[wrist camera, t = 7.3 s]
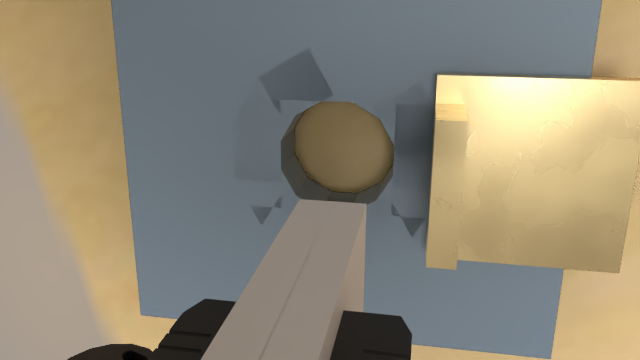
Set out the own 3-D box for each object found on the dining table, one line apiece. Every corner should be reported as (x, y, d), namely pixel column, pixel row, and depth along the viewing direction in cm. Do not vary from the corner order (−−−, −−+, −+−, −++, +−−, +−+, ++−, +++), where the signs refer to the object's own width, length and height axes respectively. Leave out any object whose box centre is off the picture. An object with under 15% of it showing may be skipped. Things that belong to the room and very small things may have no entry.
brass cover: (437, 72, 22) (437, 87, 18) (644, 78, 20) (688, 96, 17) (425, 249, 24) (424, 294, 20) (612, 263, 23) (646, 314, 19)
